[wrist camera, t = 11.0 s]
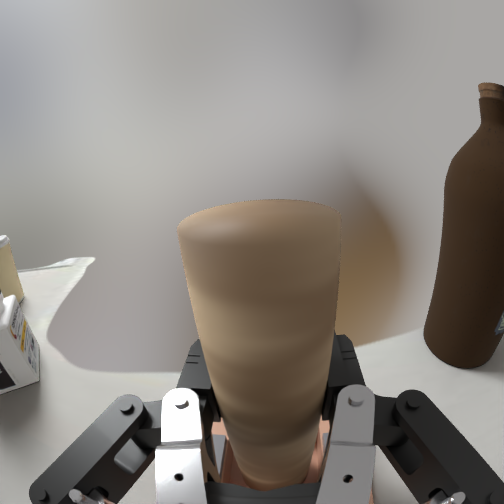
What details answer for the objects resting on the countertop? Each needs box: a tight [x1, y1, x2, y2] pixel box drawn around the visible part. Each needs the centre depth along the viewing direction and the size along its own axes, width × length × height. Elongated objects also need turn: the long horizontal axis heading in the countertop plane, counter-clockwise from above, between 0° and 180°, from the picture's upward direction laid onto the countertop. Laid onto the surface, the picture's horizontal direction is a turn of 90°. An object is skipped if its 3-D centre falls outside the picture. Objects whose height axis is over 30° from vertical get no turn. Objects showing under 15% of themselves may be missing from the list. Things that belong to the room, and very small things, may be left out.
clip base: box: [211, 415, 374, 504], centre depth 12 cm, size 12×12×4 cm
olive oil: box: [424, 83, 504, 368], centre depth 17 cm, size 11×11×25 cm
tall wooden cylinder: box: [177, 199, 342, 491], centre depth 10 cm, size 4×4×15 cm
